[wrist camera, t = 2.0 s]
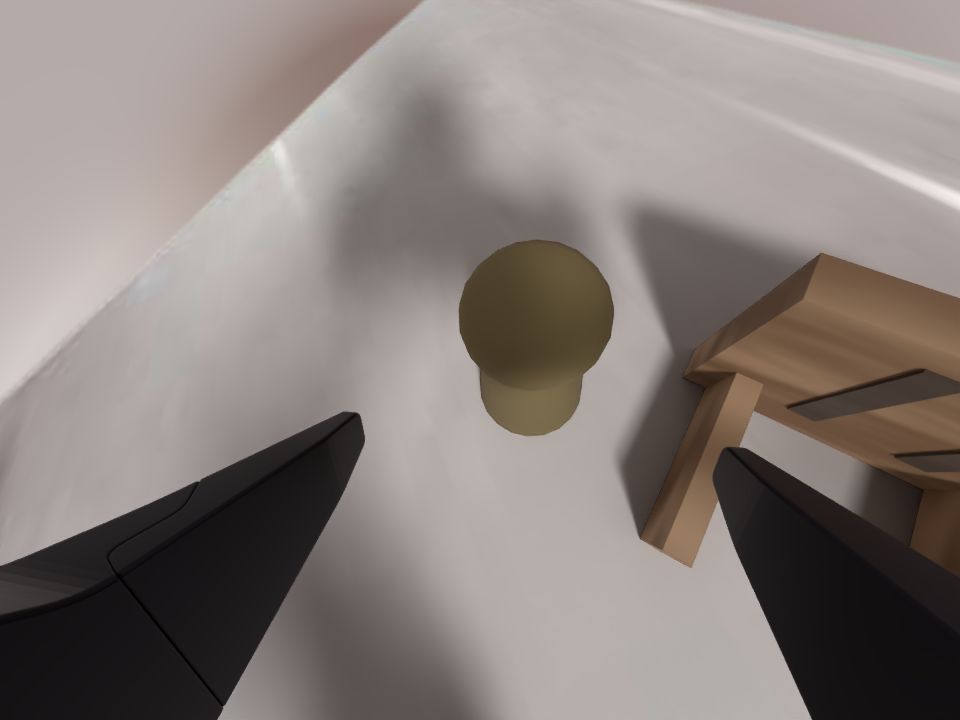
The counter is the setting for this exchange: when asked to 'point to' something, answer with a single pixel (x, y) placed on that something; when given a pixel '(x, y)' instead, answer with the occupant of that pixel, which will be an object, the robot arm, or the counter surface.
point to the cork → (535, 332)
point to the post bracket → (830, 395)
